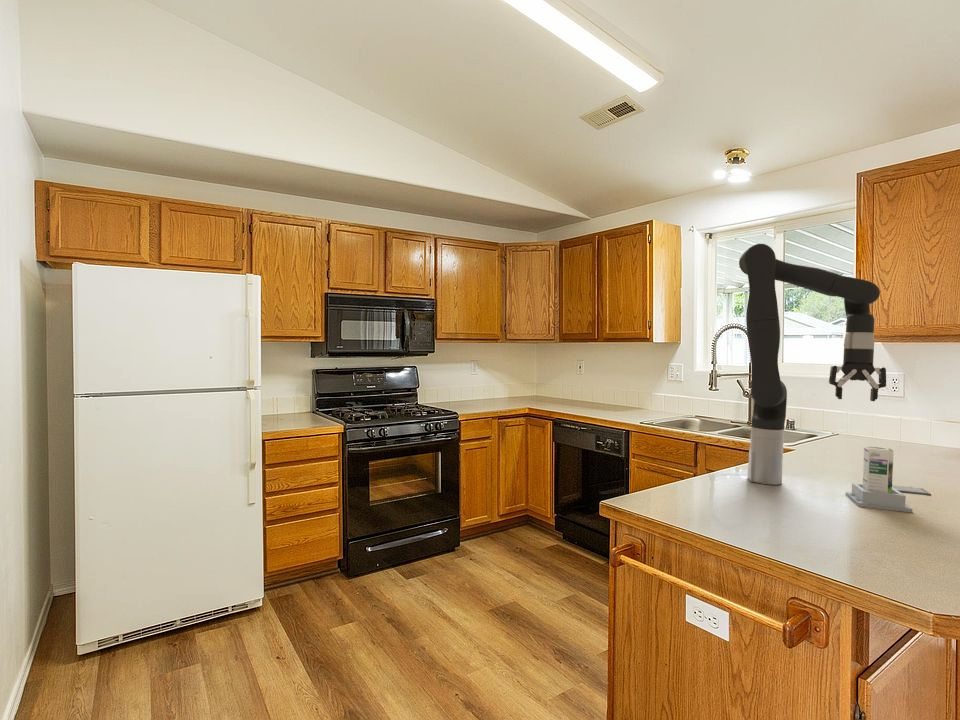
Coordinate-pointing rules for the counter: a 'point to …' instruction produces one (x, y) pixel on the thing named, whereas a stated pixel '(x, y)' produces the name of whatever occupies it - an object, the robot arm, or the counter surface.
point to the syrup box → (878, 469)
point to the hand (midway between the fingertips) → (856, 400)
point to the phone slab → (911, 490)
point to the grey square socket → (878, 499)
